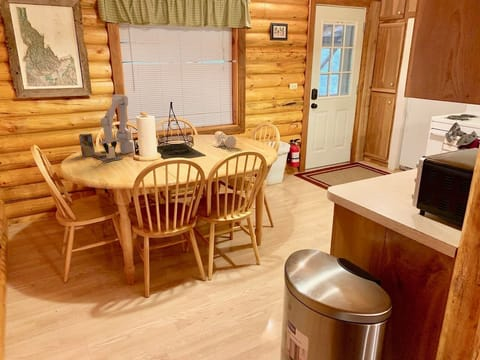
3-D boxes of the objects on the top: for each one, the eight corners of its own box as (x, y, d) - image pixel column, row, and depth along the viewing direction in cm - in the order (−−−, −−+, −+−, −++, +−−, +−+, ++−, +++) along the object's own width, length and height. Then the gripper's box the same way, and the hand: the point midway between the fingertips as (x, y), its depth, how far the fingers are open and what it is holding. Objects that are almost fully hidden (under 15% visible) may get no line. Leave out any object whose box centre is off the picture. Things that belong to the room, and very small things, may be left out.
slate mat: (116, 156, 277) (116, 155, 277) (122, 159, 270) (122, 158, 270) (100, 159, 270) (100, 159, 269) (106, 162, 263) (106, 161, 262)
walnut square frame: (110, 152, 288) (110, 149, 287) (117, 155, 280) (117, 152, 279) (92, 156, 279) (92, 152, 278) (99, 159, 271) (99, 155, 270)
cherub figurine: (223, 137, 289) (209, 130, 303) (222, 152, 294) (210, 144, 309) (236, 134, 296) (223, 128, 310) (236, 149, 301) (223, 142, 316)
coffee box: (95, 153, 286) (92, 133, 281) (94, 155, 280) (91, 134, 275) (82, 154, 284) (79, 133, 278) (81, 156, 278) (78, 135, 272)
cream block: (112, 156, 273) (110, 145, 270) (115, 157, 270) (114, 146, 267) (106, 157, 270) (105, 146, 267) (109, 158, 267) (108, 147, 264)
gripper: (114, 131, 271) (116, 149, 276) (96, 135, 261) (98, 153, 266) (119, 133, 267) (121, 151, 271) (101, 136, 257) (103, 155, 261)
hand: (110, 152), depth 268 cm, fingers closed on cream block, 4 cm apart
